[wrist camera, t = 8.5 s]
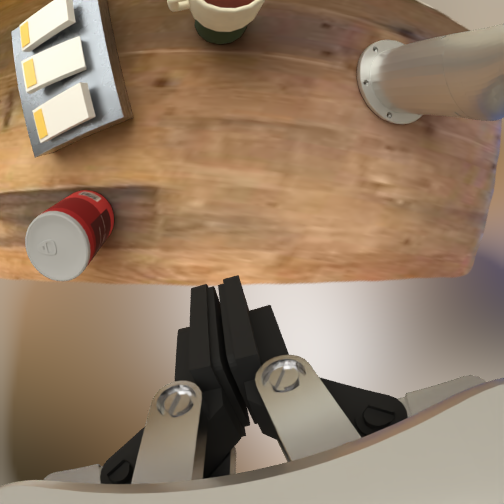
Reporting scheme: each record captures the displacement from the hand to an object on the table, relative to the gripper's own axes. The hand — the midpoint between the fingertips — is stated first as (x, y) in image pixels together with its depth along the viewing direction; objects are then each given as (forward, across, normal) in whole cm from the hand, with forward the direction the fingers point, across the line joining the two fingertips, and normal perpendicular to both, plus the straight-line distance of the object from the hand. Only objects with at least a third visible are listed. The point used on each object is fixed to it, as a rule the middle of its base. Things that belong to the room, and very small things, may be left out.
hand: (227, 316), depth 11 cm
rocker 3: (+23, +13, -13) cm, 29 cm away
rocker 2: (+23, +13, -19) cm, 32 cm away
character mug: (+29, -6, -19) cm, 35 cm away
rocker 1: (+23, +13, -25) cm, 36 cm away
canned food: (+29, +17, 0) cm, 34 cm away
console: (+29, +13, -19) cm, 37 cm away
